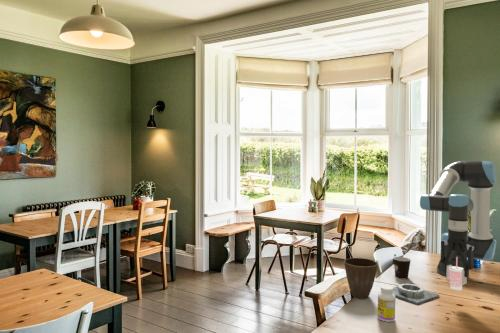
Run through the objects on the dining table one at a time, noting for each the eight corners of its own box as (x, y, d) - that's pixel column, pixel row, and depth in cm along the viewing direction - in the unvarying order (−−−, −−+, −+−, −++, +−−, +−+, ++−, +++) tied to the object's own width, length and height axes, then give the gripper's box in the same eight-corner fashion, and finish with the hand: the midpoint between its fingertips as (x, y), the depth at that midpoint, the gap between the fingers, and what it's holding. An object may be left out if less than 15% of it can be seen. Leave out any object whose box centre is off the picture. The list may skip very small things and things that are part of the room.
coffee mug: (411, 280, 206) (412, 261, 206) (394, 278, 208) (395, 260, 208) (407, 273, 218) (407, 256, 218) (391, 272, 220) (391, 255, 219)
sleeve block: (404, 286, 197) (405, 279, 197) (439, 297, 182) (439, 289, 182) (382, 292, 186) (382, 285, 186) (417, 304, 172) (417, 297, 171)
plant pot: (359, 304, 171) (360, 268, 171) (336, 293, 185) (337, 259, 184) (383, 298, 178) (384, 264, 178) (360, 288, 191) (361, 256, 191)
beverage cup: (459, 285, 174) (459, 255, 174) (467, 290, 168) (467, 258, 167) (445, 285, 174) (446, 255, 173) (453, 290, 168) (454, 258, 167)
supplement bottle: (374, 315, 159) (375, 284, 158) (390, 315, 159) (391, 284, 159) (381, 322, 152) (382, 290, 152) (397, 322, 153) (398, 290, 152)
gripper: (432, 227, 176) (431, 277, 177) (476, 234, 160) (474, 289, 161) (441, 225, 180) (439, 274, 181) (485, 232, 164) (483, 286, 165)
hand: (456, 281), depth 171 cm, fingers closed on beverage cup, 6 cm apart
